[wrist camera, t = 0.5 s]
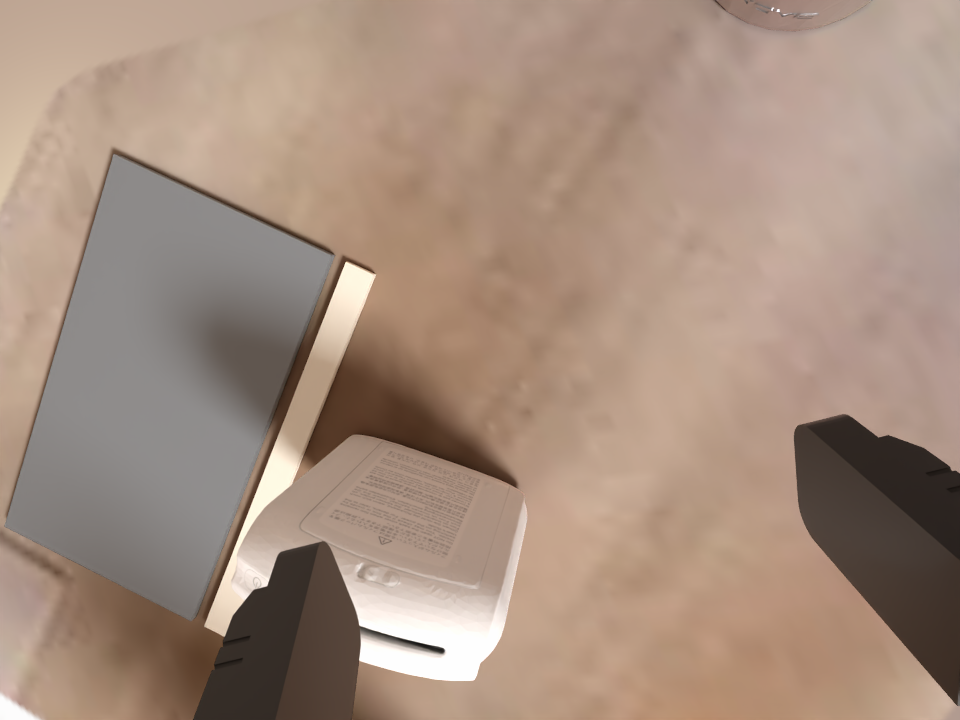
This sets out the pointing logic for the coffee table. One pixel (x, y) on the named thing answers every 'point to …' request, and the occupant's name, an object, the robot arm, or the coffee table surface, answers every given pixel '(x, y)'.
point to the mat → (177, 388)
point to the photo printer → (402, 551)
